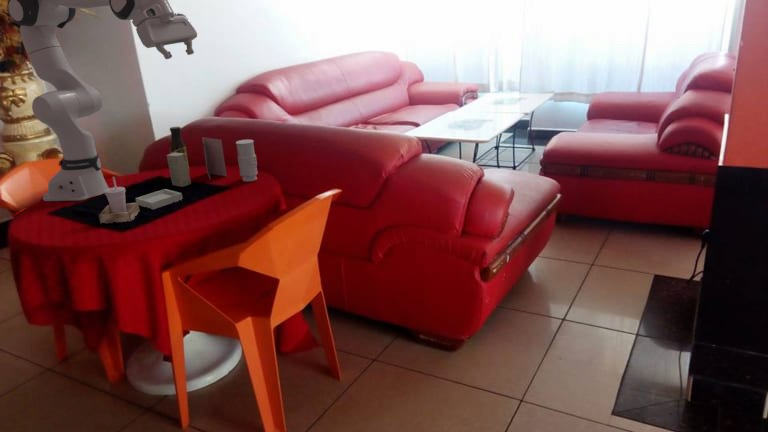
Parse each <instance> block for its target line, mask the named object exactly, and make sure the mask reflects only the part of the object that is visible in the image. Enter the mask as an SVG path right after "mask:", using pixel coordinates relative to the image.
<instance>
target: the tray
mask: <svg viewBox="0 0 768 432" xmlns="http://www.w3.org/2000/svg"><path fill="white" fill-rule="evenodd" d="M182 199H184V198H183V194H182V192H178V191H175V190H172V189H171V190H170V189H166V188H164V189H161V190H158V191H157V190H156V191H154V192H151V193H147V194H145V195H141V196H139V197H135V203H138V205H139V206H140V207H144V208H146V207H147V208H146V209H149V208H150V210H156V209H158V208H159V209H160V208H162V207H164V206H167V205H170V204H173V202H174V203H177V202H180V201H182ZM179 200H180V201H179Z"/></svg>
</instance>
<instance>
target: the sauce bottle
mask: <svg viewBox="0 0 768 432" xmlns="http://www.w3.org/2000/svg"><path fill="white" fill-rule="evenodd" d="M181 131H182V129H181V127H180V126H171V127H169V132H170V136H171V137H170V138H171V140H170V143H169V151H170V152H169V154H172V153H184V154H186V159H187V164H188V170H189V171H190V166H189V160H188V158H189V157H188V152H187V146H186V145H185V142H184V140H183V137H182V133H181Z"/></svg>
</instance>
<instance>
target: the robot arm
mask: <svg viewBox="0 0 768 432" xmlns="http://www.w3.org/2000/svg"><path fill="white" fill-rule="evenodd" d="M6 6H7V12H8V15H9V17H10V18H11V19H12V21H13V22H15V24H17V25H18V26H20V28H19V33H20V37H21V41H22V44H23V48H24V49H25V52H26V54H27V57H28V59H29V61H30V63H31V66H32V68H33V69H34V72H35V74H36V77H38V78H39V79H40V80H42V81H45V82H47V83H49V84H51V85H52V86H53V87H54V88H55V89H56V90H51V91H47V92H45V93H42V94H40V95H38V96H36V97H34V99H33V100H32V103H31V108H32V109H31V110H32V113H33V115H34V117H35V118H36V119H37V121H39V122H40V123H43V124H45V125H46V126H48V127H49V128H50V129H51V130H52V131H53V132H54V134H55V136H56V137H57V139H58V142H59V144H60V148H61V152H62V155H63V156H62V158H61V159H60V161H59V162H58V163H57V164H58V166H59V167H60V168H61V169H59V171H58V172H56V173H55V174H54V176H52V177H51V179H50V180H49V181H48V184H47V190H48V191H47V192H46V193H44V195H43V196H42V198H43V199H42V200H43V202H63V201H64V202H65V201H67V202H68V201H69V202H71V201H73V202H74V201H84V200H87V199H89V198H93V197H96V196H100V195H103V194H105V192H104V191H105V190H107V189H109V188H110V187H109V186H108V183H107V181H106V180H105V178H104V175H103V172H102V170H101V169H102V164H101V163H102V162H101V160H100V157H99V154H98V153H97V149H96V144H95V139H94V136H93V134H92V132H91V131H88V130H86V129H85V128H81V126H80V125H79V123H78V121H77V119H80V118H85V117H89V116H91V115H94V114H95V113H97V112H99V111H100V110H101V109H102V107H103V97H102V95H101V93H100V92H99V91H98V90H97V89H96V88H95V87H93V86H91V85H89V84H87V83H86V82H85V81H83V80H82V79H81V78H80V77H79V76H78V74H76V72H75V71H74V70H73V68H72V67H71V65H70V63H69V61H68V60H67V57H66V55H65V52H64V51H63V49H62V47H61V44H60V42H59V40H58V38H57V35H56V29H57V28H59V29H63V28H65V26H66V25H67V24H69V22H71V21H73V19H74V18H75V15H76V12H77V11H76V9H79V10H80V9H91V8H93V9H94V8H100V7H101V8H102V7H109V8H110V10H111V12H112V14H113V15H114V16H115V17H116V18H118V19H119V20H122V21H131V22H132V24H133V26H134V27H135V31H136V34H137V36H138V38H139V40H140V42H141V44H142V45H143V46H144V47H145V48H147V49H150V48H156V50H157V51H158V52H159V53H160V54H161V55H163V58H164V59H165V60H169V59H171V58H173V55H172V52H171V51H170V50H169V51H168V50H167V49H166V48H165V46H168V45H174V44H175V45H176V44H181V43H183V44H184V45H185V46H186V49H185V50H184V51H185V53H186V54H187V55H188V56H190V55H194V54H195V51H194V49H193V40H195V39H196V38H197V37H198V32H197V30H196V28H195V27H194V26H193V24H192V22H191V21H190V20H189V18H188V17H187V15H185V14H184V13H182V12H174V10H173V8H172V6H171V5H170V2H169V0H8V1H7V5H6Z"/></svg>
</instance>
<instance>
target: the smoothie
mask: <svg viewBox="0 0 768 432" xmlns="http://www.w3.org/2000/svg"><path fill="white" fill-rule="evenodd" d="M112 181H113V185H114V186H113V187H109V189H107V190H105V191H104V192H105V193H104V195H105V196H106V198H107V200H108V203H109V204H108V205H110V207H111V210H112V212H113V213H122V212H126V204H127V203H126V192H127V191H126V188H125V187H124V186H117V183H116V177H115V176H112Z"/></svg>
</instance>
